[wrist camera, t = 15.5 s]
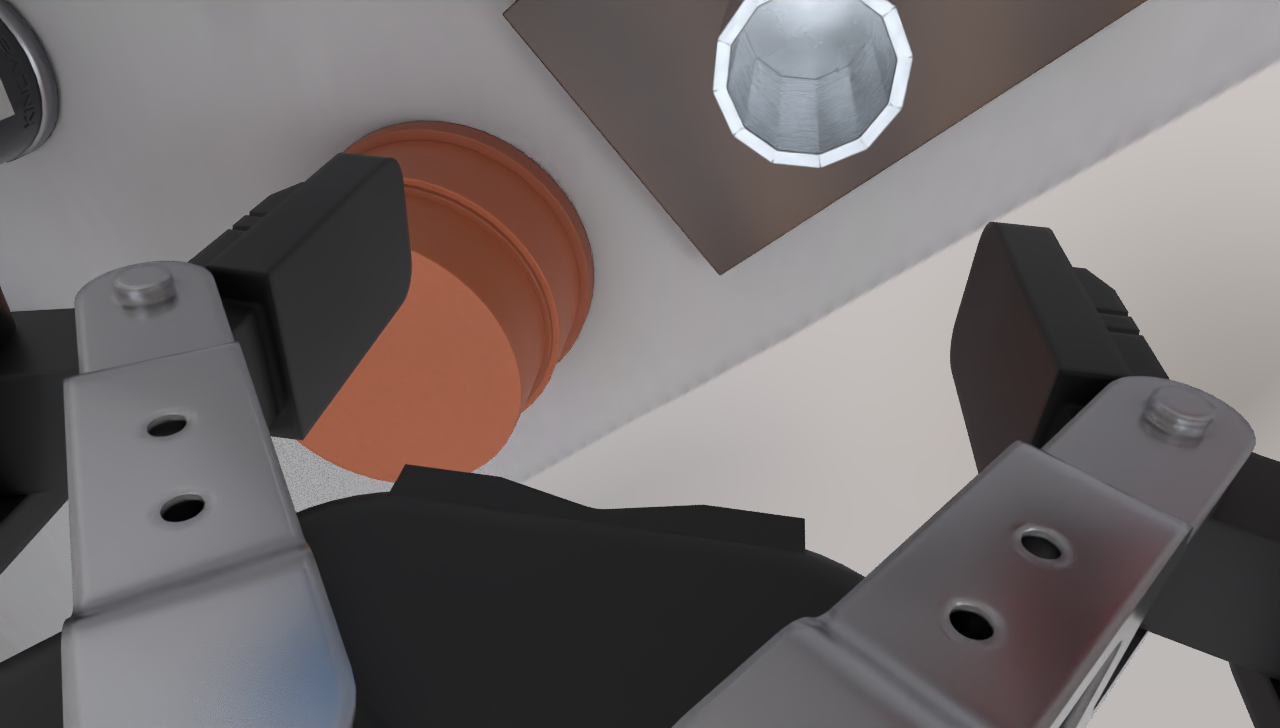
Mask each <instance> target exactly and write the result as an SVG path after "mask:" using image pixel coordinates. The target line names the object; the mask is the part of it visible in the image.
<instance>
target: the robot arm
mask: <svg viewBox="0 0 1280 728" xmlns="http://www.w3.org/2000/svg"><path fill="white" fill-rule="evenodd" d="M57 113H58V95H57V88H56V83H55V79H54V75H53V72H52V69H51V67H50V64H49V62H48V59H47V57H46V55H45V53H44V51H43V49H42V47H41V45H40V44H39V42H38V40H37V39H36V37H35V36H34V34H33V33H32V31H31V30H30V28H29V27H28V26H27V24H26V23H25V22H24V21H23V19H22V18H21V17H20V16H19V14H18V13H17V12H16V11H15V10H14V9H13V8H12V7H11V6H10V5H9V4H8V3H7V2H6V1H5V0H0V165H1V164H3V163H5V162H10V161H13V160H16V159H18V158H20V157H22V156H24V155H26V154H28V153H30V152H32V151H34V150H36V149H37V148H39V147H40V146H41V145H42V144H44V143H45V142H46V140H47V139H48V138H49V136H50V135H51V133H52V131H53V129H54V126H55V123H56V119H57ZM411 275H412V257H411V248H410V238H409V229H408V219H407V210H406V200H405V191H404V181H403V175H402V170H401V167H400V165H399V163H398V162H397V160H396V159H394V158H391V157H382V156H372V155H363V154H353V153H344V152H342V153H339V154H337V155H336V156H335V157H333V158H332V159H331V160H330V161H329V162H328V163H326V164H325V165H324V166H323V167H322V168H320V169H319V170H318V171H317V172H316V173H315V174H313V175H312V176H311V177H310V178H309V179H307V180H306V181H305V182H301V183H299V184H296V185H294V186H291V187H289V188H287V189H284V190H282V191H279V192H277V193H274V194H272V195H270V196H268V197H267V198H266V199H265V200H264V201H262V202H261V203H260V204H259V205H257V206H256V207H255V208H254V209H253V210H251V211H250V215H249V216H248V215H245V216H244V217H243V218H241V219H240V220H239V221H238V222H237V223H235V224H234V225H233V229H232V230H231V229H228V230H227V231H225V232H224V233H223V234H222V235H221V236H219V237H218V238H217V239H216V240H214V241H213V242H212V243H211V244H210V245H208V246H207V247H206V248H205V249H203V250H202V251H201V252H200V253H198V254H197V255H196V256H195V257H194V258H192V259H191V260H190V261H189V262H180V261H154V262H146V263H139V264H134V265H129V266H126V267H122V268H118V269H116V270H113V271H110V272H107V273H105V274H103V275H101V276H99V277H97V278H95V279H93V280H92V281H90V282H89V283H87V284H86V285H85V286H84V287H82V289H81V290H80V291H79V292H78V293H77V295H76V297H75V303H74V305H75V308H72V309H54V310H36V311H18V312H10V309H9V307H8V304H7V302H6V300H5V297H4V295H3V292H2V290H1V287H0V574H1V573H2V572H3V571H4V570H5V569H6V568H7V567H8V566H9V564H10V563H11V562H12V561H13V560H14V559H15V558H16V557H17V556H18V554H19V553H20V552H21V551H22V550H23V549H24V548H25V547H26V546H27V544H28V543H29V542H30V541H31V540H32V539H33V538H34V537H35V535H36V534H37V533H38V532H39V531H40V530H41V529H42V528H43V527H44V525H45V524H46V523H47V522H48V521H49V520H50V519H51V518H52V517H53V515H54V514H55V513H56V512H57V511H58V510H59V509H60V508H61V507H62V505H63V504H64V503H65V502H66V501H67V500H68V499H69V520H70V541H71V563H72V585H73V612H72V615H71V617H70V618H68V619H66V620H65V622H64V624H63V628H62V631H61V632H59V633H57V634H55V635H53V636H52V637H50V638H48V639H46V640H44V641H42V642H40V643H38V644H36V645H34V646H32V647H30V648H28V649H26V650H24V651H22V652H20V653H18V654H16V655H14V656H12V657H11V658H9V659H7V660H5V661H3V662H1V663H0V728H1086V726H1087V725H1088V724H1089V722H1090V721H1091V719H1092V718H1093V716H1094V715H1095V713H1096V712H1097V710H1098V709H1099V707H1100V706H1101V704H1102V703H1103V701H1104V700H1105V698H1106V697H1107V695H1108V694H1109V692H1110V691H1111V689H1112V688H1113V686H1114V685H1115V683H1116V682H1117V680H1118V679H1119V677H1120V676H1121V674H1122V673H1123V671H1124V669H1125V668H1126V667H1127V665H1128V664H1129V662H1130V661H1131V659H1132V658H1133V656H1134V655H1135V653H1136V652H1137V650H1138V649H1139V647H1140V646H1141V644H1142V643H1143V641H1144V640H1145V638H1146V637H1147V635H1148V633H1149V632H1152V633H1155V634H1157V635H1160V636H1163V637H1165V638H1168V639H1170V640H1173V641H1176V642H1178V643H1181V644H1184V645H1186V646H1189V647H1192V648H1194V649H1197V650H1200V651H1202V652H1205V653H1207V654H1210V655H1213V656H1215V657H1218V658H1221V659H1223V660H1226V661H1228V662H1229V664H1230V668H1231V671H1232V674H1233V676H1234V679H1235V681H1236V683H1237V686H1238V688H1239V691H1240V693H1241V695H1242V698H1243V700H1244V703H1245V705H1246V708H1247V710H1248V712H1249V714H1250V717H1251V720H1252V722H1253V725H1254V727H1255V728H1280V462H1279V461H1276V460H1273V459H1270V458H1267V457H1264V456H1261V455H1258V454H1256V453H1253V452H1252V451H1253V449H1254V447H1255V444H1256V439H1255V434H1254V431H1253V430H1252V428H1251V426H1250V425H1249V423H1248V422H1247V421H1246V420H1245V419H1244V418H1243V417H1242V415H1240V414H1239V413H1238V412H1237V411H1236V410H1235V409H1233V408H1232V407H1230V406H1229V405H1228V404H1226V403H1225V402H1223V401H1222V400H1220V399H1218V398H1216V397H1214V396H1213V395H1211V394H1208V393H1206V392H1204V391H1202V390H1200V389H1197V388H1195V387H1192V386H1189V385H1187V384H1183V383H1180V382H1176V381H1172V380H1170V379H1169V377H1168V376H1167V374H1166V373H1165V371H1164V369H1163V368H1162V366H1161V365H1160V363H1159V361H1158V360H1157V358H1156V356H1155V355H1154V353H1153V352H1152V350H1151V348H1150V347H1149V345H1148V343H1147V342H1146V340H1145V339H1144V337H1143V336H1142V335H1139V331H1140V330H1139V329H1138V327H1137V326H1136V324H1135V322H1134V321H1133V319H1132V318H1131V317H1128V311H1127V309H1126V308H1125V306H1124V305H1123V303H1122V301H1121V300H1120V298H1119V296H1118V295H1117V293H1116V292H1115V290H1114V289H1113V288H1111V287H1110V286H1108V285H1107V284H1106V283H1104V282H1103V281H1102V280H1100V279H1099V278H1098V277H1096V276H1095V275H1094V274H1092V273H1091V272H1090V271H1088V270H1087V269H1084V268H1076V267H1072V265H1071V264H1070V262H1069V260H1068V258H1067V257H1066V255H1065V253H1064V251H1063V249H1062V248H1061V246H1060V244H1059V242H1058V240H1057V239H1056V237H1055V235H1054V233H1053V232H1052V230H1051V229H1049V228H1046V227H1036V226H1025V225H1017V224H1008V223H998V222H990V223H988V224H987V225H986V227H985V229H984V230H983V232H982V235H981V238H980V240H979V243H978V247H977V250H976V253H975V257H974V260H973V263H972V267H971V270H970V274H969V277H968V281H967V284H966V287H965V291H964V294H963V298H962V301H961V304H960V308H959V311H958V314H957V318H956V321H955V325H954V329H953V334H952V340H951V349H950V364H951V371H952V375H953V378H954V382H955V386H956V390H957V394H958V397H959V401H960V405H961V409H962V413H963V416H964V420H965V424H966V428H967V432H968V436H969V439H970V443H971V447H972V451H973V454H974V458H975V462H976V466H977V469H978V475H977V476H976V477H975V478H974V479H973V480H971V481H970V482H969V483H968V484H967V485H966V486H965V487H964V488H963V489H962V490H961V491H960V492H958V493H957V494H956V495H955V496H954V497H953V498H952V499H951V500H950V501H949V502H947V503H946V504H945V505H944V506H943V507H942V508H941V509H940V510H939V511H938V512H936V513H935V514H934V515H933V516H932V517H931V518H930V519H929V520H928V521H927V522H926V523H924V524H923V525H922V526H921V527H920V528H919V529H918V530H917V531H916V532H915V533H913V534H912V535H911V536H910V537H909V538H908V539H907V540H906V541H905V542H904V543H902V544H901V545H900V546H899V547H898V548H897V549H896V550H895V551H894V552H893V553H891V554H890V555H889V556H888V557H887V558H886V559H885V560H884V561H883V562H882V563H881V564H879V565H878V567H876V568H875V569H874V570H873V571H872V572H871V573H870V574H869V575H867V576H866V577H864V576H862V575H860V574H859V573H857V572H855V571H853V570H851V569H850V568H848V567H846V566H844V565H842V564H840V563H838V562H836V561H834V560H831V559H829V558H827V557H825V556H822V555H820V554H817V553H814V552H812V551H809V550H806V549H805V519H803V518H796V517H789V516H781V515H774V514H767V513H760V512H752V511H745V510H738V509H730V508H723V507H715V506H708V505H691V506H690V505H689V506H667V507H648V508H647V507H645V508H623V509H595V508H590V507H587V506H583V505H581V504H578V503H575V502H572V501H568V500H566V499H563V498H560V497H557V496H554V495H551V494H549V493H545V492H543V491H540V490H537V489H534V488H531V487H528V486H525V485H522V484H519V483H516V482H514V481H511V480H508V479H505V478H502V477H497V476H489V475H482V474H475V473H467V472H460V471H453V470H445V469H438V468H431V467H424V466H416V465H409V464H405V466H404V467H403V469H402V471H401V473H400V475H399V476H398V478H397V480H396V482H395V483H394V485H393V487H392V489H391V491H390V492H379V493H371V494H364V495H357V496H352V497H347V498H343V499H338V500H333V501H330V502H326V503H323V504H320V505H317V506H313V507H310V508H307V509H305V510H302V511H300V512H297V513H296V512H295V509H294V506H293V503H292V500H291V497H290V494H289V491H288V487H287V484H286V481H285V478H284V475H283V472H282V469H281V466H280V463H279V460H278V457H277V454H276V451H275V448H274V445H273V442H272V439H271V436H274V437H282V438H289V439H296V440H304V438H305V437H306V436H307V434H308V433H309V431H310V430H311V429H312V427H313V426H314V425H315V423H316V422H317V420H318V419H319V418H320V416H321V415H322V414H323V412H324V411H325V410H326V408H327V407H328V405H329V404H330V403H331V401H332V400H333V399H334V397H335V396H336V394H337V393H338V392H339V390H340V389H341V388H342V386H343V385H344V384H345V382H346V381H347V379H348V378H349V377H350V375H351V374H352V373H353V371H354V370H355V368H356V367H357V366H358V364H359V363H360V362H361V360H362V359H363V357H364V356H365V355H366V353H367V352H368V351H369V349H370V348H371V347H372V345H373V344H374V342H375V341H376V340H377V338H378V337H379V336H380V334H381V333H382V331H383V330H384V329H385V327H386V326H387V325H388V323H389V322H390V321H391V319H392V318H393V316H394V315H395V314H396V312H397V311H398V310H399V308H400V307H401V305H402V304H403V303H404V301H405V299H406V297H407V294H408V291H409V287H410V282H411Z"/></svg>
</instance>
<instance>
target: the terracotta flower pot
mask: <svg viewBox="0 0 1280 728" xmlns="http://www.w3.org/2000/svg"><path fill="white" fill-rule="evenodd" d="M344 153H353V154H363V155H372V156H382V157H391V158H394V159H396V160H397V162H398V163H399V165H400V167H401V170H402V175H403V181H404V191H405V200H406V210H407V219H408V229H409V238H410V248H411V257H412V275H411V282H410V287H409V291H408V294H407V297H406V299H405V301H404V303H403V304H402V305H401V307H400V308H399V310H398V311H397V312H396V314H395V315H394V316H393V318H392V319H391V321H390V322H389V323H388V325H387V326H386V327H385V329H384V330H383V331H382V333H381V334H380V336H379V337H378V338H377V340H376V341H375V342H374V344H373V345H372V347H371V348H370V349H369V351H368V352H367V353H366V355H365V356H364V357H363V359H362V360H361V362H360V363H359V364H358V366H357V367H356V368H355V370H354V371H353V373H352V374H351V375H350V377H349V378H348V379H347V381H346V382H345V384H344V385H343V386H342V388H341V389H340V390H339V392H338V393H337V394H336V396H335V397H334V399H333V400H332V401H331V403H330V404H329V405H328V407H327V408H326V410H325V411H324V412H323V414H322V415H321V416H320V418H319V419H318V420H317V422H316V423H315V425H314V426H313V427H312V429H311V430H310V431H309V433H308V434H307V436H306V437H305V438H304V440H297V441H298V442H299V443H301V444H302V445H303V446H305V447H306V448H308V449H309V450H310V451H312V452H314V453H315V454H317V455H319V456H320V457H322V458H324V459H325V460H327V461H329V462H331V463H333V464H335V465H337V466H339V467H341V468H344V469H347V470H349V471H352V472H354V473H357V474H360V475H363V476H367V477H370V478H374V479H378V480H383V481H388V482H396V480H397V478H398V476H399V475H400V473H401V471H402V469H403V467H404V466H405V464H409V465H416V466H424V467H431V468H438V469H445V470H453V471H460V472H467V473H470V472H472V471H474V470H476V469H477V468H479V467H481V466H482V465H484V464H485V463H487V462H488V461H489V460H490V459H492V458H493V457H494V456H495V455H496V454H497V453H498V452H499V451H500V450H501V449H502V447H503V446H504V445H505V444H506V442H507V441H508V439H509V437H510V436H511V434H512V432H513V430H514V428H515V426H516V423H517V421H518V419H519V417H520V414H521V413H522V412H523V411H524V410H525V409H527V408H528V407H529V406H530V405H531V404H532V403H533V402H534V401H535V400H536V399H537V398H538V396H539V395H540V394H541V393H542V391H543V390H544V388H545V387H546V385H547V383H548V382H549V380H550V378H551V375H552V373H553V370H554V368H555V366H556V364H557V363H558V362H559V361H560V360H561V359H562V358H563V357H564V356H565V355H566V354H567V352H568V351H569V350H570V349H571V347H572V346H573V344H574V342H575V341H576V339H577V338H578V336H579V333H580V331H581V329H582V326H583V324H584V322H585V319H586V317H587V314H588V312H589V308H590V304H591V300H592V296H593V285H594V269H593V259H592V254H591V249H590V244H589V241H588V238H587V235H586V232H585V229H584V226H583V224H582V222H581V220H580V218H579V216H578V214H577V212H576V210H575V208H574V207H573V205H572V204H571V202H570V201H569V199H568V198H567V196H566V195H565V193H564V192H563V191H562V189H561V188H560V187H559V186H558V185H557V183H556V182H555V181H554V180H553V179H552V177H551V176H550V175H548V174H547V173H546V172H545V171H544V170H543V169H542V168H541V167H540V166H539V165H538V164H537V163H536V162H534V161H533V160H532V159H530V158H529V157H528V156H526V155H525V154H524V153H522V152H521V151H520V150H518V149H516V148H515V147H513V146H511V145H510V144H508V143H506V142H504V141H503V140H501V139H499V138H496V137H494V136H492V135H489V134H487V133H485V132H483V131H480V130H476V129H473V128H470V127H466V126H463V125H458V124H452V123H446V122H437V121H416V122H407V123H400V124H396V125H392V126H388V127H384V128H382V129H380V130H377V131H375V132H373V133H370V134H368V135H366V136H365V137H363V138H361V139H360V140H358V141H357V142H355V143H354V144H352V145H351V146H350V147H349V148H347V149H346V150H345V151H344ZM295 440H296V439H295Z"/></svg>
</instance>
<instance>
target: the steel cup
mask: <svg viewBox="0 0 1280 728" xmlns="http://www.w3.org/2000/svg"><path fill="white" fill-rule="evenodd" d="M912 63H913V52H912V49H911V46H910V43H909V41H908V38H907V35H906V32H905V29H904V26H903V23H902V20H901V17H900V14H899V11H898V8H897V6H896V3H895V1H894V0H729V3H728V6H727V9H726V12H725V16H724V19H723V22H722V25H721V28H720V31H719V34H718V37H717V40H716V48H715V59H714V70H713V81H712V93H713V95H714V98H715V100H716V102H717V104H718V106H719V108H720V111H721V113H722V115H723V117H724V119H725V121H726V124H727V126H728V128H729V130H730V132H731V134H732V135H733V137H734V138H736V139H737V140H739V141H740V142H742V143H743V144H744V145H746V146H747V147H749V148H750V149H751V150H753V151H754V152H756V153H757V154H759V155H760V156H761V157H763V158H764V159H766V160H767V161H769V162H770V163H773V164H781V165H791V166H801V167H811V168H820V167H821V168H823V167H826V166H828V165H830V164H833V163H835V162H838V161H840V160H843V159H845V158H848V157H850V156H853V155H855V154H857V153H860V152H862V151H865V150H867V148H870V146H871V145H872V144H873V143H874V142H875V141H876V139H877V138H878V137H879V136H880V135H881V134H882V132H883V131H884V130H885V129H886V128H887V127H888V125H889V124H890V123H891V122H892V121H893V120H894V118H895V117H896V116H897V115H898V114H899V113H900V111H901V110H902V108H903V105H904V100H905V96H906V91H907V86H908V82H909V77H910V72H911V68H912Z"/></svg>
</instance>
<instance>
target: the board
mask: <svg viewBox="0 0 1280 728" xmlns="http://www.w3.org/2000/svg"><path fill="white" fill-rule="evenodd" d="M894 1H895V3H896V6H897V8H898V11H899V14H900V17H901V20H902V23H903V26H904V29H905V32H906V35H907V38H908V41H909V43H910V46H911V49H912V52H913V63H912V68H911V72H910V77H909V82H908V86H907V91H906V96H905V100H904V105H903V108H902V110H901V111H900V113H899V114H898V115H897V116H896V117H895V118H894V120H893V121H892V122H891V123H890V124H889V125H888V127H887V128H886V129H885V130H884V131H883V132H882V134H881V135H880V136H879V137H878V138H877V139H876V141H875V142H874V143H873V144H872V145H871V146H870V148H867V150H865V151H862V152H860V153H857V154H855V155H853V156H850V157H848V158H845V159H843V160H840V161H838V162H835V163H833V164H830V165H828V166H826V167H823V168H821V167H820V168H811V167H801V166H791V165H781V164H773V163H770V162H769V161H767V160H766V159H764V158H763V157H761V156H760V155H759V154H757V153H756V152H754V151H753V150H751V149H750V148H749V147H747V146H746V145H744V144H743V143H742V142H740V141H739V140H737V139H736V138H734V137H733V135H732V134H731V132H730V130H729V128H728V126H727V124H726V121H725V119H724V117H723V115H722V113H721V111H720V108H719V106H718V104H717V102H716V100H715V98H714V95H713V93H712V81H713V70H714V59H715V48H716V40H717V37H718V34H719V31H720V28H721V25H722V22H723V19H724V16H725V12H726V9H727V6H728V3H729V0H516V1H515V2H514V3H513V4H512V5H511V6H510V7H509V8H508V9H507V10H506V11H505V12H504V13H503V16H504V17H505V18H506V20H507V21H508V22H509V23H510V24H511V26H512V27H513V28H514V29H515V30H516V32H517V33H518V34H519V35H520V36H521V38H522V39H523V40H524V41H525V42H526V44H527V45H528V46H529V47H530V48H531V50H532V51H533V52H534V53H535V54H536V56H537V57H538V58H539V59H540V60H541V62H542V63H543V64H544V65H545V66H546V68H547V69H548V70H549V71H550V72H551V74H552V75H553V76H554V77H555V78H556V80H557V81H558V82H559V83H560V84H561V86H562V87H563V88H564V89H565V90H566V92H567V93H568V94H569V95H570V96H571V98H572V99H573V100H574V101H575V102H576V104H577V105H578V106H579V107H580V108H581V110H582V111H583V112H584V113H585V114H586V116H587V117H588V118H589V119H590V120H591V122H592V123H593V124H594V125H595V126H596V128H597V129H598V130H599V131H600V132H601V134H602V135H603V136H604V137H605V138H606V140H607V141H608V142H609V143H610V144H611V146H612V147H613V148H614V149H615V150H616V152H617V153H618V154H619V155H620V157H621V158H622V159H623V160H624V161H625V163H626V164H627V165H628V166H629V167H630V169H631V170H632V171H633V172H634V173H635V175H636V176H637V177H638V178H639V179H640V181H641V182H642V183H643V184H644V185H645V187H646V188H647V189H648V190H649V191H650V193H651V194H652V195H653V196H654V197H655V199H656V200H657V201H658V202H659V203H660V205H661V206H662V207H663V208H664V209H665V211H666V212H667V213H668V214H669V215H670V217H671V218H672V219H673V220H674V221H675V223H676V224H677V225H678V226H679V227H680V229H681V230H682V231H683V232H684V233H685V235H686V236H687V237H688V238H689V239H690V241H691V242H692V243H693V244H694V245H695V247H696V248H697V249H698V250H699V251H700V253H701V254H702V255H703V256H704V257H705V259H706V260H707V261H708V262H709V263H710V265H711V266H712V267H713V268H714V269H715V271H716V272H717V273H718V274H719V275H722V274H723V273H725V272H726V271H728V270H730V269H731V268H733V267H734V266H736V265H737V264H739V263H740V262H742V261H744V260H745V259H747V258H748V257H750V256H751V255H753V254H754V253H756V252H757V251H759V250H761V249H762V248H764V247H765V246H767V245H768V244H770V243H771V242H773V241H775V240H776V239H778V238H779V237H781V236H782V235H784V234H785V233H787V232H788V231H790V230H792V229H793V228H795V227H796V226H798V225H799V224H801V223H802V222H804V221H806V220H807V219H809V218H810V217H812V216H813V215H815V214H816V213H818V212H820V211H821V210H823V209H824V208H826V207H827V206H829V205H830V204H832V203H833V202H835V201H837V200H838V199H840V198H841V197H843V196H844V195H846V194H847V193H849V192H851V191H852V190H854V189H855V188H857V187H858V186H860V185H861V184H863V183H865V182H866V181H868V180H869V179H871V178H872V177H874V176H875V175H877V174H878V173H880V172H882V171H883V170H885V169H886V168H888V167H889V166H891V165H892V164H894V163H896V162H897V161H899V160H900V159H902V158H903V157H905V156H906V155H908V154H909V153H911V152H913V151H914V150H916V149H917V148H919V147H920V146H922V145H923V144H925V143H927V142H928V141H930V140H931V139H933V138H934V137H936V136H937V135H939V134H941V133H942V132H944V131H945V130H947V129H948V128H950V127H951V126H953V125H954V124H956V123H958V122H959V121H961V120H962V119H964V118H965V117H967V116H968V115H970V114H972V113H973V112H975V111H976V110H978V109H979V108H981V107H982V106H984V105H985V104H987V103H989V102H990V101H992V100H993V99H995V98H996V97H998V96H999V95H1001V94H1003V93H1004V92H1006V91H1007V90H1009V89H1010V88H1012V87H1013V86H1015V85H1017V84H1018V83H1020V82H1021V81H1023V80H1024V79H1026V78H1027V77H1029V76H1030V75H1032V74H1034V73H1035V72H1037V71H1038V70H1040V69H1041V68H1043V67H1044V66H1046V65H1048V64H1049V63H1051V62H1052V61H1054V60H1055V59H1057V58H1058V57H1060V56H1061V55H1063V54H1065V53H1066V52H1068V51H1069V50H1071V49H1072V48H1074V47H1075V46H1077V45H1079V44H1080V43H1082V42H1083V41H1085V40H1086V39H1088V38H1089V37H1091V36H1093V35H1094V34H1096V33H1097V32H1099V31H1100V30H1102V29H1103V28H1105V27H1106V26H1108V25H1110V24H1111V23H1113V22H1114V21H1116V20H1117V19H1119V18H1120V17H1122V16H1124V15H1125V14H1127V13H1128V12H1130V11H1131V10H1133V9H1134V8H1136V7H1137V6H1139V5H1141V4H1142V3H1144V2H1145V1H1147V0H894Z"/></svg>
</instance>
